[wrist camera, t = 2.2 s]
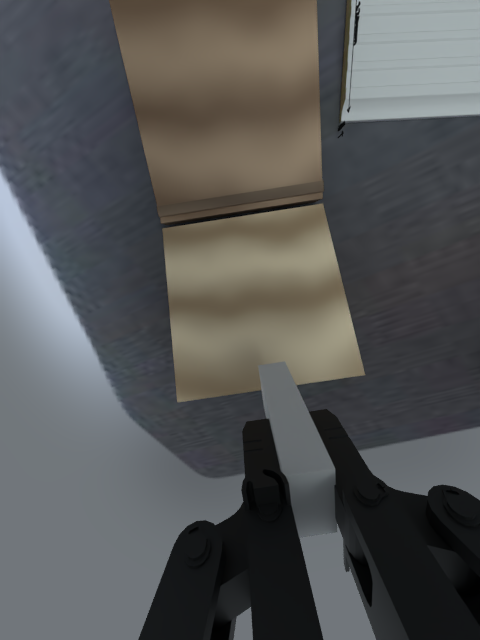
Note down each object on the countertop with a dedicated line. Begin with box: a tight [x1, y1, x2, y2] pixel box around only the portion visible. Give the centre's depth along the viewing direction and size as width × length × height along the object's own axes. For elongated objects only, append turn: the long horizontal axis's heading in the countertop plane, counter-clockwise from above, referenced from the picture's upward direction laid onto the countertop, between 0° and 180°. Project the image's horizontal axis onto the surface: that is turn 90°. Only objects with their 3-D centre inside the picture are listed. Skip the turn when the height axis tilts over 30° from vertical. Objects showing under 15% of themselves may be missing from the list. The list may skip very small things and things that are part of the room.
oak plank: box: [162, 204, 365, 402], centre depth 20 cm, size 14×14×2 cm
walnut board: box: [109, 0, 324, 225], centre depth 19 cm, size 15×14×2 cm
